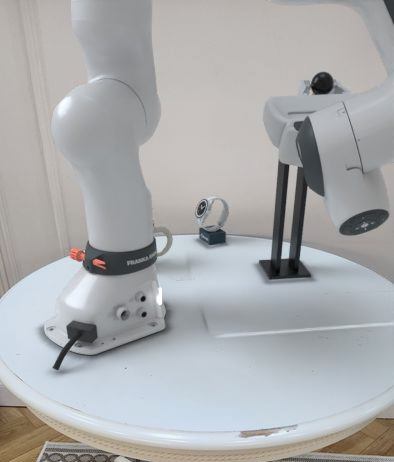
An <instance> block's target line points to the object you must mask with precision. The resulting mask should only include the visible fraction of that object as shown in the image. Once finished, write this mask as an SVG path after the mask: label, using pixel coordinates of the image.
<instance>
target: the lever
mask: <svg viewBox="0 0 394 462" xmlns="http://www.w3.org/2000/svg"><path fill="white" fill-rule="evenodd" d="M333 79H334V77H333V76H332V75H331V73H329V72H327V71H319V72H317V73H316V74H315V75H314V76H313V77H312V79H311V81H310V84H311V89H310V91H311V92H312V93H311V95H325V94H329V93H330V92H331V91H332V89H333V85H334V80H333Z"/></svg>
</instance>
